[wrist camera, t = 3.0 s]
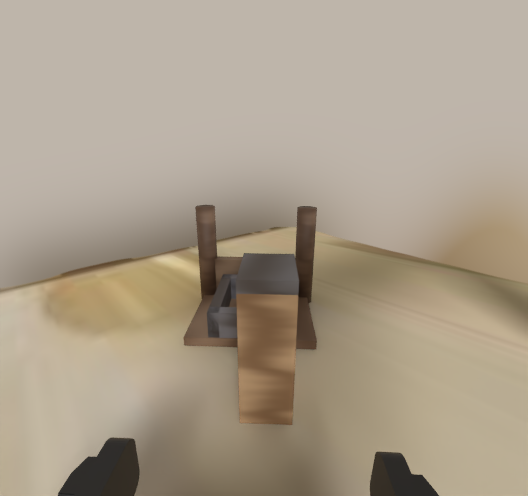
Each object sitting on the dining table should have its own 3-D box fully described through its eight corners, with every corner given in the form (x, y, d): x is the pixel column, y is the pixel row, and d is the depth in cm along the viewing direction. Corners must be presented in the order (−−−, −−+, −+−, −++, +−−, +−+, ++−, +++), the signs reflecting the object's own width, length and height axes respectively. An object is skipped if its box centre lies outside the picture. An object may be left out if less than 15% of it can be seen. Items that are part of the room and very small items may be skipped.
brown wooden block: (289, 376, 27) (294, 254, 23) (292, 424, 22) (299, 280, 18) (246, 374, 27) (244, 253, 23) (239, 422, 22) (235, 279, 18)
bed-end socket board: (309, 295, 42) (315, 206, 38) (322, 349, 30) (332, 229, 26) (204, 293, 42) (198, 204, 38) (178, 345, 31) (165, 227, 27)
